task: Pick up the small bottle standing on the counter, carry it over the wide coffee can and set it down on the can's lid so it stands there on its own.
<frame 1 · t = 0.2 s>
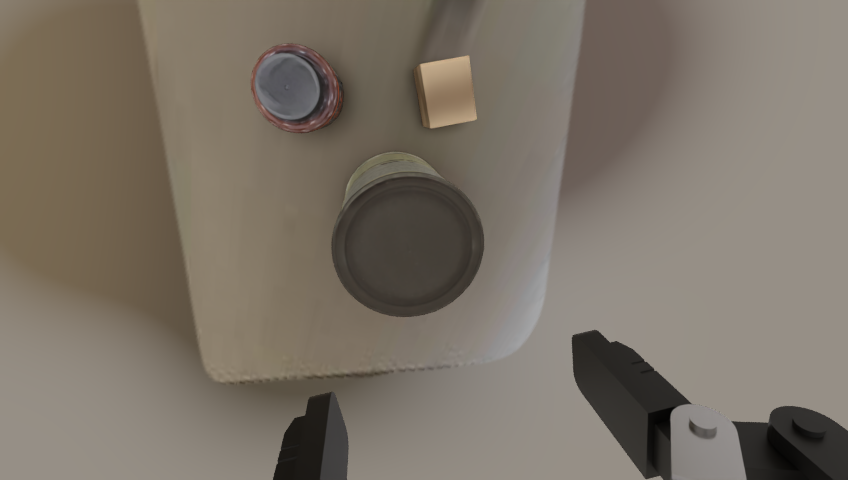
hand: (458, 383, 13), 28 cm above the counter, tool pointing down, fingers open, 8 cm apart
supplement bottle: (311, 94, 35), on the counter
oak tea box: (439, 94, 36), on the counter
coffee can: (395, 201, 39), on the counter
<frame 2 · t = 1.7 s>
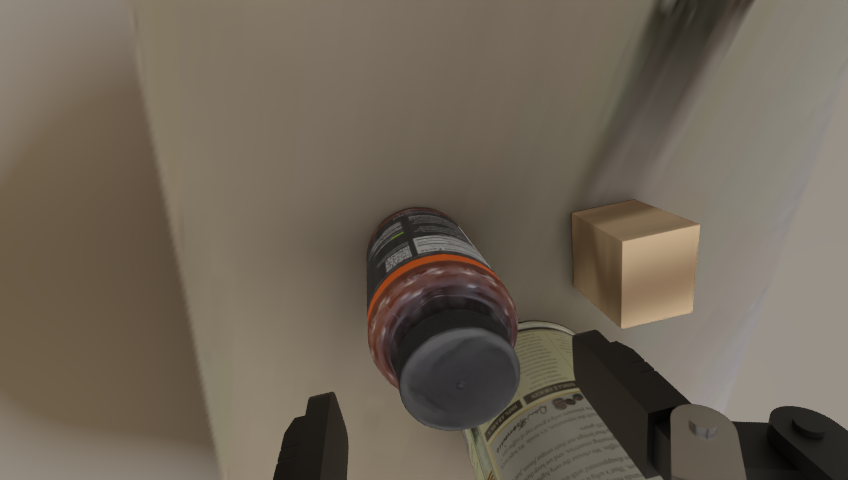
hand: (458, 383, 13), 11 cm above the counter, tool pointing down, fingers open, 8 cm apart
supplement bottle: (416, 252, 23), on the counter
oak tea box: (603, 244, 24), on the counter
coffee can: (521, 380, 27), on the counter
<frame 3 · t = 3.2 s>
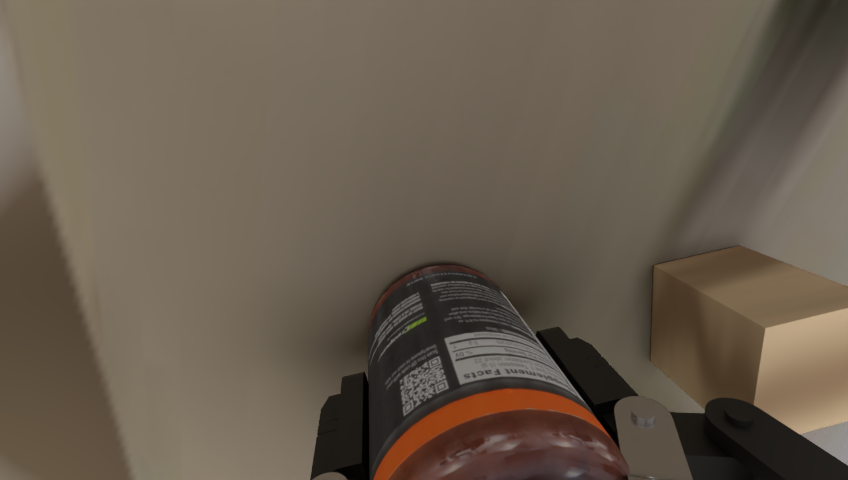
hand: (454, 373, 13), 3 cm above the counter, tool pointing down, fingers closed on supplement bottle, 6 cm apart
supplement bottle: (438, 322, 16), on the counter, touching gripper
oak tea box: (693, 305, 18), on the counter
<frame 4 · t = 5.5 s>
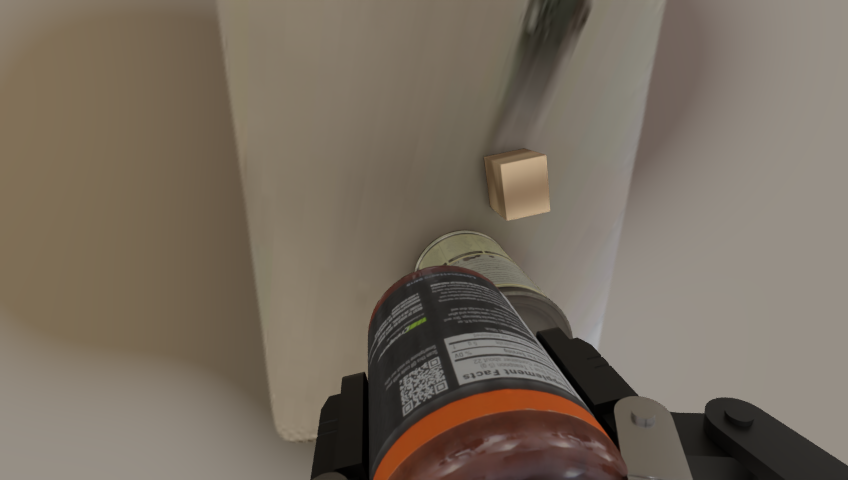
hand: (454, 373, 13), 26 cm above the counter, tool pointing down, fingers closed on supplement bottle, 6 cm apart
supplement bottle: (438, 322, 16), point 23 cm above the counter, touching gripper
oak tea box: (506, 178, 38), on the counter
coffee can: (461, 274, 41), on the counter
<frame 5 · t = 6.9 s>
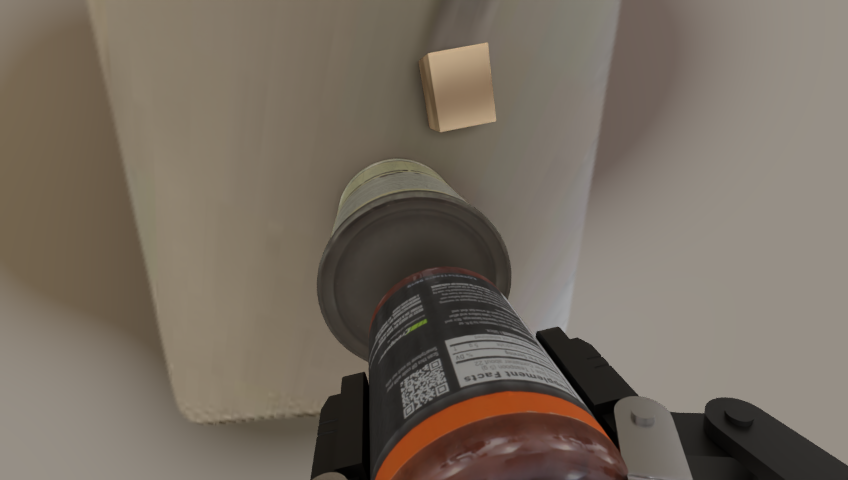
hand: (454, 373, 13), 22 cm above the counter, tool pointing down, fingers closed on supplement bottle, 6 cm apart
supplement bottle: (439, 323, 16), point 18 cm above the counter, touching gripper
oak tea box: (448, 91, 31), on the counter
coffee can: (397, 216, 34), on the counter
when the fingers open (18 cm above the counter, at t = 7.9 s): supplement bottle drops 1 cm, resting on coffee can.
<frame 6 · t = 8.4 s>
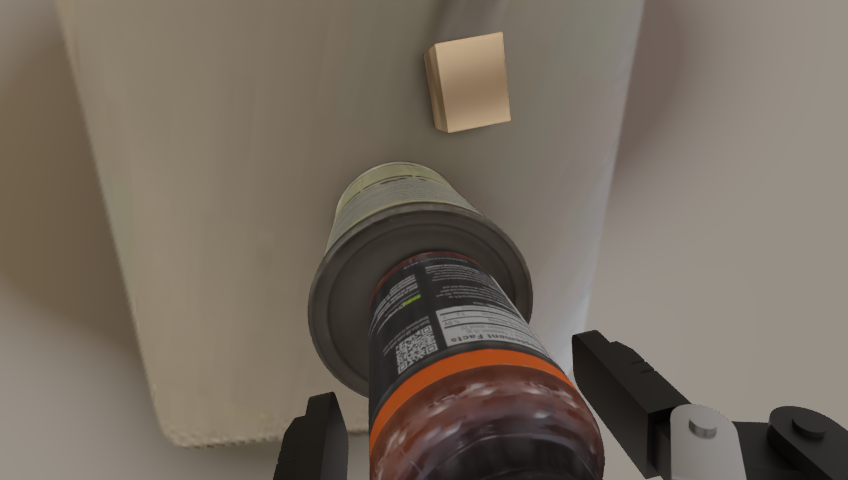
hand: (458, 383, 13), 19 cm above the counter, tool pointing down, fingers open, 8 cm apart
supplement bottle: (433, 305, 18), point 14 cm above the counter, touching coffee can
oak tea box: (456, 87, 28), on the counter
coffee can: (400, 224, 31), on the counter, touching supplement bottle
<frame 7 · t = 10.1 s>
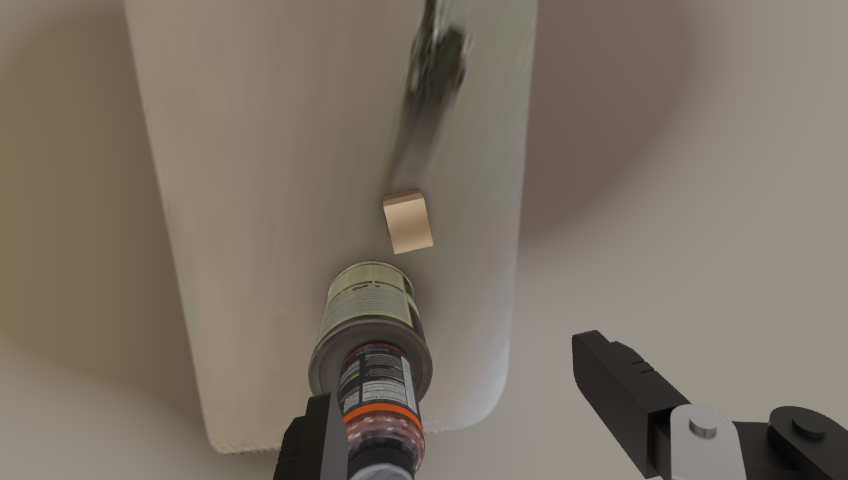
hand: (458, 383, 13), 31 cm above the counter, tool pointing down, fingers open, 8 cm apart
supplement bottle: (376, 369, 32), point 14 cm above the counter, touching coffee can
oak tea box: (404, 214, 43), on the counter
coffee can: (371, 299, 46), on the counter, touching supplement bottle
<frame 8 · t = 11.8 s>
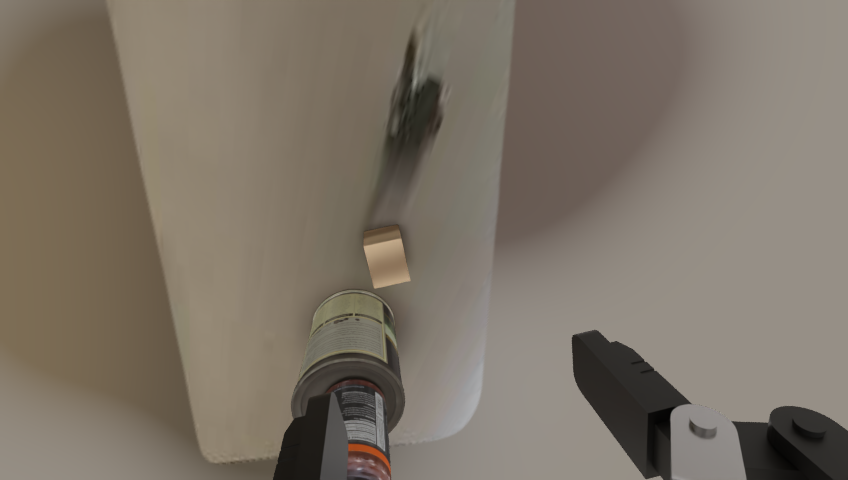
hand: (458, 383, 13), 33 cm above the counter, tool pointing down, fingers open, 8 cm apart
supplement bottle: (353, 401, 36), point 14 cm above the counter, touching coffee can
oak tea box: (385, 247, 46), on the counter
coffee can: (354, 324, 49), on the counter, touching supplement bottle
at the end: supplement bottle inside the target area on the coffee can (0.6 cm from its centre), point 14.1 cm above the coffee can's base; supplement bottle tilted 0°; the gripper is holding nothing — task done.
